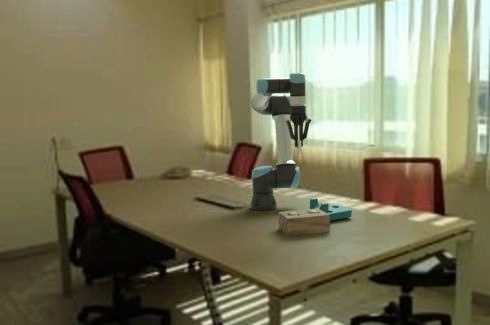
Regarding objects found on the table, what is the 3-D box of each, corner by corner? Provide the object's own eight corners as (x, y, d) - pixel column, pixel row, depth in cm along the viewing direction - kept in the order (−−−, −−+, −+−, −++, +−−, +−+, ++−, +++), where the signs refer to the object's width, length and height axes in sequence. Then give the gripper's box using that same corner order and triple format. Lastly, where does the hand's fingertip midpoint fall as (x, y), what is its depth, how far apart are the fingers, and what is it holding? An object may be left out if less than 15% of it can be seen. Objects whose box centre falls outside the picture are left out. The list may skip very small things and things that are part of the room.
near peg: (288, 229, 249) (287, 212, 248) (296, 228, 250) (296, 212, 249) (291, 231, 245) (290, 214, 244) (299, 230, 246) (299, 213, 245)
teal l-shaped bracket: (321, 224, 259) (322, 204, 257) (309, 218, 269) (310, 198, 267) (351, 219, 267) (352, 199, 265) (338, 213, 277) (338, 194, 275)
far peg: (308, 227, 251) (307, 210, 250) (316, 226, 252) (315, 210, 251) (311, 229, 248) (311, 212, 246) (319, 228, 249) (319, 211, 247)
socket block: (279, 228, 253) (278, 212, 252) (318, 224, 258) (317, 208, 257) (288, 236, 240) (288, 218, 238) (329, 231, 245) (329, 214, 243)
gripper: (287, 106, 251) (289, 155, 254) (313, 104, 254) (314, 153, 257) (282, 105, 258) (283, 153, 261) (307, 104, 261) (308, 151, 265)
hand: (299, 153), depth 259 cm, fingers closed
